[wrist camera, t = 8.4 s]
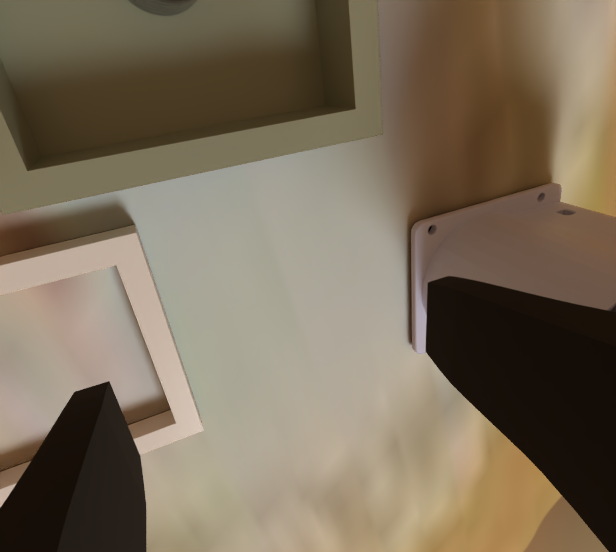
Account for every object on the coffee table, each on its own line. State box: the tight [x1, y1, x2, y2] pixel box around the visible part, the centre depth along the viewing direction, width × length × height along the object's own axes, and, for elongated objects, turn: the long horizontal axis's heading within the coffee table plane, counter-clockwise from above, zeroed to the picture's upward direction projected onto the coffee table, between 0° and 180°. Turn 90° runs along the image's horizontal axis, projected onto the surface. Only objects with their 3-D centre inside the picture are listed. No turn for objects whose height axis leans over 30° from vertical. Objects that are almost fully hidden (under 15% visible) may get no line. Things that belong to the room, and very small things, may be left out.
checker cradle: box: [0, 225, 203, 507], centre depth 16 cm, size 10×10×1 cm
